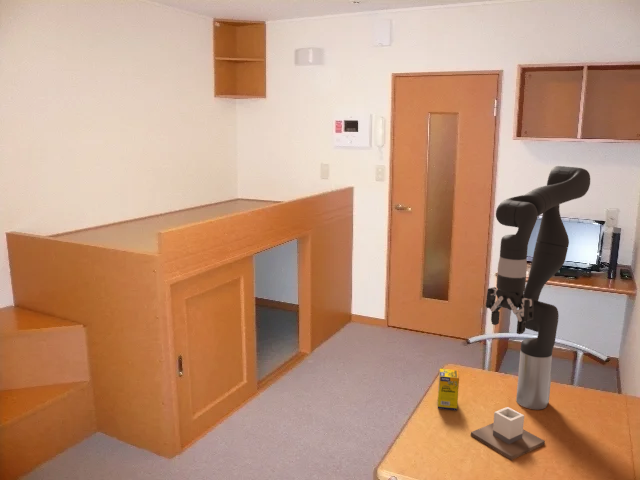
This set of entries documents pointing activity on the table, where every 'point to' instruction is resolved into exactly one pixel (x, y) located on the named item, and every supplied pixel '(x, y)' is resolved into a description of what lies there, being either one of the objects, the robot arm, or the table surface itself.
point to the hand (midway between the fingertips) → (507, 328)
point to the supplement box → (448, 389)
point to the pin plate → (504, 448)
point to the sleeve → (508, 425)
